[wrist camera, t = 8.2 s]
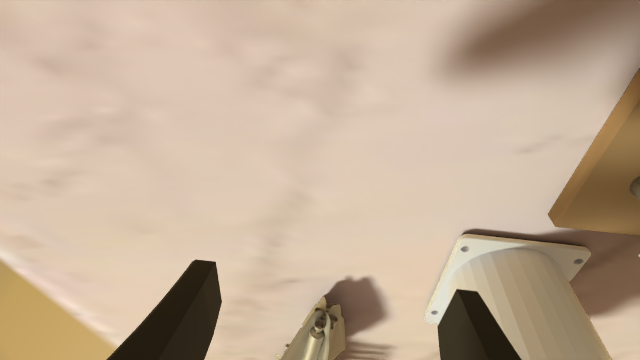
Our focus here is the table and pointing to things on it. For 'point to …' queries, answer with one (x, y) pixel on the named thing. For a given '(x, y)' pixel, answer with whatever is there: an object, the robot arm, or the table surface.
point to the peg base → (607, 175)
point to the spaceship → (319, 335)
